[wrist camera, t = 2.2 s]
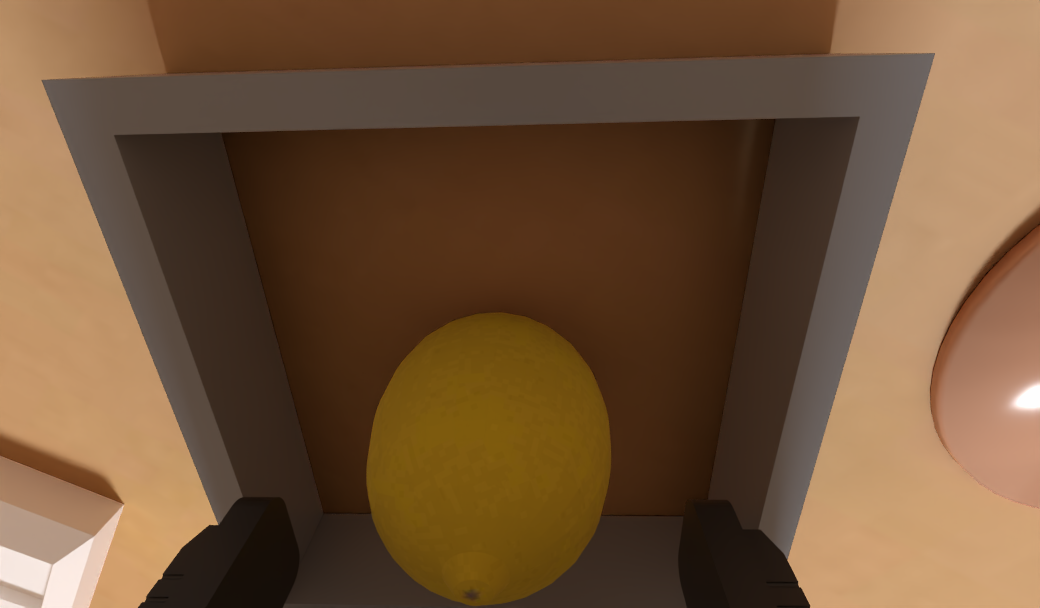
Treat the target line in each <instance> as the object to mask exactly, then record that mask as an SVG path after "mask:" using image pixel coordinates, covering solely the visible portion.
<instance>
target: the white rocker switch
mask: <svg viewBox="0 0 1040 608" xmlns="http://www.w3.org/2000/svg"><path fill="white" fill-rule="evenodd" d="M123 506H124V504H122V503H120V502H117V501H115V500H112V499H110V498H107V497H104V496H102V495H99V494H97V493H94V492H92V491H89V490H87V489H84V488H82V487H79V486H76V485H74V484H71V483H69V482H66V481H64V480H61V479H59V478H56V477H53V476H51V475H48V474H46V473H43V472H41V471H38V470H36V469H33V468H31V467H28V466H25V465H23V464H20V463H18V462H15V461H13V460H10V459H8V458H5V457H3V456H0V608H89V605H90V603H91V600H92V597H93V594H94V591H95V588H96V585H97V582H98V579H99V576H100V573H101V570H102V568H103V565H104V562H105V559H106V556H107V553H108V550H109V547H110V544H111V541H112V538H113V536H114V533H115V530H116V527H117V524H118V521H119V518H120V515H121V512H122V509H123Z"/></svg>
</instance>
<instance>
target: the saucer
mask: <svg viewBox="0 0 1040 608" xmlns="http://www.w3.org/2000/svg"><path fill="white" fill-rule="evenodd" d="M930 393H931V412H932V417H933V421H934V425H935V429H936V431H937V433H938V436H939V438H940V440H941V442H942V444H943V446H944V447H945V448H946V450H947V451H948V453H949V454H950V455H951V457H952V458H953V459H954V460H955V461H956V462H957V463H958V464H959V465H960V466H961V467H962V468H963V469H964V470H965V471H966V472H967V473H968V474H969V475H971V476H972V477H973V478H974V479H975V480H976V481H977V482H978V483H979V484H981V485H982V486H984V487H985V488H987V489H989V490H990V491H992V492H993V493H995V494H997V495H999V496H1002V497H1004V498H1006V499H1008V500H1011V501H1013V502H1016V503H1020V504H1023V505H1027V506H1030V507H1034V508H1040V225H1039V226H1037V227H1036V228H1035V229H1033V230H1032V231H1031V232H1030V233H1029V234H1028V235H1027V236H1026V237H1024V238H1023V239H1022V240H1021V241H1020V242H1019V243H1018V244H1016V245H1015V246H1014V247H1013V248H1012V249H1011V250H1010V251H1009V252H1007V253H1006V255H1005V256H1004V257H1003V258H1002V259H1001V260H1000V261H999V262H998V263H997V264H996V265H995V266H994V267H993V268H992V269H991V270H990V271H989V272H988V274H987V275H986V276H985V277H984V278H983V279H982V281H981V282H980V283H979V284H978V286H977V287H976V288H975V290H974V291H973V292H972V293H971V295H970V296H969V297H968V299H967V300H966V301H965V303H964V304H963V306H962V308H961V309H960V311H959V313H958V314H957V316H956V317H955V319H954V321H953V322H952V324H951V326H950V328H949V330H948V332H947V334H946V337H945V339H944V341H943V343H942V345H941V348H940V350H939V354H938V357H937V360H936V364H935V367H934V370H933V377H932V384H931V391H930Z"/></svg>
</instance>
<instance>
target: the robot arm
mask: <svg viewBox="0 0 1040 608" xmlns="http://www.w3.org/2000/svg"><path fill="white" fill-rule="evenodd" d="M299 560H300V554H299V548H298V544H297V541H296V537H295V534H294V531H293V527H292V524H291V521H290V517H289V514H288V511H287V507H286V504H285V502H284V500H283V499H282V498H280V497H242V498H239V499H238V500H237V501H236V502H235V503H234V504H233V505H232V507H231V508H230V509H229V511H228V512H227V514H226V515H225V517H224V518H223V520H222V521H221V522H220V524H219V525H209V526H208V527H206V528H205V529H204V530H203V531H202V532H200V533H199V534H198V535H197V536H196V537H194V538H193V539H192V540H191V541H190V542H188V543H187V544H186V545H185V546H184V547H183V548H182V549H181V550H180V551H179V553H178V554H177V556H176V557H175V558H174V560H173V561H172V562H171V564H170V565H169V566H168V568H167V569H166V570H165V572H164V573H163V577H162V579H161V580H158V581H157V583H156V584H155V585H154V587H153V588H152V589H151V591H150V592H149V594H148V595H147V596H146V601H145V602H142V603H141V604H140V606H139V607H138V608H283V606H284V604H285V602H286V600H287V598H288V595H289V593H290V591H291V589H292V587H293V585H294V582H295V580H296V577H297V573H298V568H299ZM678 568H679V577H680V583H681V588H682V591H683V595H684V599H685V602H686V606H687V608H810V604H809V602H808V600H807V598H806V596H805V594H804V593H803V591H802V589H801V588H799V586H798V581H797V579H796V577H795V575H794V573H793V571H792V569H791V567H790V565H789V563H788V561H787V559H786V557H785V555H784V553H783V552H782V551H781V550H780V549H779V548H778V547H777V546H776V545H775V544H774V543H773V542H772V541H771V540H770V539H769V538H768V537H767V536H766V535H765V534H764V533H763V532H762V531H761V530H760V529H742V527H741V524H740V522H739V520H738V517H737V515H736V513H735V511H734V508H733V506H732V505H731V503H730V502H729V501H728V500H687V502H686V504H685V510H684V517H683V524H682V531H681V538H680V545H679V552H678Z"/></svg>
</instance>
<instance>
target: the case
mask: <svg viewBox="0 0 1040 608" xmlns="http://www.w3.org/2000/svg"><path fill="white" fill-rule="evenodd" d="M934 55H935V53H886V54H804V55H771V56H738V57H705V58H671V59H638V60H605V61H572V62H539V63H505V64H472V65H439V66H406V67H372V68H339V69H306V70H273V71H239V72H206V73H173V74H150V75H130V76H111V77H91V78H71V79H52V80H42V82H43V85H44V87H45V90H46V92H47V95H48V97H49V100H50V102H51V105H52V107H53V110H54V112H55V115H56V118H57V120H58V123H59V125H60V128H61V130H62V133H63V135H64V138H65V140H66V143H67V145H68V148H69V150H70V153H71V155H72V158H73V160H74V163H75V165H76V168H77V170H78V173H79V175H80V178H81V180H82V183H83V185H84V188H85V190H86V193H87V195H88V198H89V200H90V203H91V205H92V208H93V211H94V213H95V216H96V218H97V221H98V223H99V226H100V228H101V231H102V233H103V236H104V238H105V241H106V243H107V246H108V248H109V251H110V253H111V256H112V258H113V261H114V263H115V266H116V268H117V271H118V273H119V276H120V278H121V281H122V283H123V286H124V288H125V291H126V293H127V296H128V298H129V301H130V304H131V306H132V309H133V311H134V314H135V316H136V319H137V321H138V324H139V326H140V329H141V331H142V334H143V336H144V339H145V341H146V344H147V346H148V349H149V351H150V354H151V356H152V359H153V361H154V364H155V366H156V369H157V371H158V374H159V376H160V379H161V381H162V384H163V386H164V389H165V391H166V394H167V397H168V399H169V402H170V404H171V407H172V409H173V412H174V414H175V417H176V419H177V422H178V424H179V427H180V429H181V432H182V434H183V437H184V439H185V442H186V444H187V447H188V449H189V452H190V454H191V457H192V459H193V462H194V464H195V467H196V469H197V472H198V474H199V477H200V479H201V482H202V485H203V487H204V490H205V492H206V495H207V497H208V500H209V502H210V505H211V507H212V510H213V512H214V515H215V517H216V520H217V522H218V525H219V524H220V522H221V521H222V520H223V518H224V517H225V515H226V514H227V512H228V511H229V509H230V508H231V507H232V505H233V504H234V503H235V502H236V501H237V500H238V499H239V498H242V497H280V498H282V499H283V500H284V502H285V504H286V507H287V511H288V514H289V517H290V521H291V524H292V527H293V531H294V534H295V537H296V541H297V544H298V548H299V554H300V560H299V568H298V573H297V577H296V580H295V582H294V585H293V587H292V589H291V591H290V593H289V595H288V598H287V600H286V602H285V604H284V606H283V608H687V606H686V602H685V599H684V595H683V591H682V588H681V583H680V577H679V568H678V552H679V545H680V538H681V531H682V524H683V517H684V516H601V517H600V521H599V523H598V526H597V528H596V531H595V533H594V535H593V537H592V538H591V540H590V541H589V543H588V544H587V546H586V547H585V549H584V550H583V552H582V553H581V555H580V556H579V558H578V559H577V561H576V562H575V563H574V564H573V565H572V566H571V567H570V568H569V569H568V570H567V571H566V572H564V573H563V574H562V575H561V576H560V577H559V578H557V579H556V580H555V581H554V582H553V583H552V584H550V585H548V586H546V587H545V588H543V589H541V590H539V591H537V592H535V593H533V594H531V595H529V596H527V597H525V598H522V599H518V600H515V601H511V602H507V603H502V604H493V605H481V606H470V605H466V604H464V603H461V602H457V601H453V600H450V599H448V598H445V597H443V596H440V595H438V594H436V593H434V592H431V591H429V590H428V589H426V588H425V587H423V586H422V585H420V584H419V583H417V582H416V581H415V580H413V579H412V578H411V577H410V576H409V575H408V574H407V573H406V572H405V571H404V570H403V569H402V568H401V567H400V566H399V565H398V564H397V563H396V561H395V560H394V559H393V558H392V556H391V555H390V553H389V552H388V551H387V549H386V547H385V545H384V543H383V541H382V540H381V538H380V536H379V534H378V532H377V530H376V527H375V524H374V522H373V519H372V514H324V513H323V509H322V506H321V502H320V498H319V495H318V491H317V487H316V483H315V480H314V476H313V472H312V469H311V465H310V461H309V457H308V454H307V450H306V446H305V443H304V439H303V435H302V431H301V428H300V424H299V420H298V417H297V413H296V409H295V405H294V402H293V398H292V394H291V391H290V387H289V383H288V379H287V376H286V372H285V368H284V365H283V361H282V357H281V353H280V350H279V346H278V342H277V339H276V335H275V331H274V327H273V324H272V320H271V316H270V313H269V309H268V305H267V301H266V298H265V294H264V290H263V287H262V283H261V279H260V275H259V272H258V268H257V264H256V261H255V257H254V253H253V249H252V246H251V242H250V238H249V234H248V231H247V227H246V223H245V220H244V216H243V212H242V208H241V205H240V201H239V197H238V194H237V190H236V186H235V182H234V179H233V175H232V171H231V168H230V164H229V160H228V156H227V153H226V149H225V145H224V142H223V138H222V134H221V132H256V131H296V130H336V129H377V128H417V127H457V126H497V125H537V124H577V123H618V122H658V121H698V120H738V119H776V120H775V126H774V132H773V137H772V143H771V148H770V154H769V159H768V165H767V171H766V176H765V182H764V187H763V193H762V199H761V204H760V210H759V215H758V221H757V226H756V232H755V238H754V243H753V249H752V254H751V260H750V266H749V271H748V277H747V282H746V288H745V293H744V299H743V305H742V310H741V316H740V321H739V327H738V332H737V338H736V344H735V349H734V355H733V360H732V366H731V372H730V377H729V383H728V388H727V394H726V399H725V405H724V411H723V416H722V422H721V427H720V433H719V439H718V444H717V450H716V455H715V461H714V466H713V472H712V478H711V483H710V489H709V494H708V500H728V501H729V502H730V503H731V505H732V506H733V508H734V511H735V513H736V515H737V517H738V520H739V522H740V524H741V527H742V529H760V530H761V531H762V532H763V533H764V534H765V535H766V536H767V537H768V538H769V539H770V540H771V541H772V542H773V543H774V544H775V545H776V546H777V547H778V548H779V549H780V550H781V551H782V552H783V553H784V555H785V557H786V559H788V556H789V552H790V549H791V545H792V542H793V539H794V535H795V532H796V528H797V525H798V521H799V518H800V515H801V511H802V508H803V504H804V501H805V497H806V494H807V491H808V487H809V484H810V480H811V477H812V473H813V470H814V467H815V463H816V460H817V456H818V453H819V449H820V446H821V443H822V439H823V436H824V432H825V429H826V425H827V422H828V419H829V415H830V412H831V408H832V405H833V401H834V398H835V395H836V391H837V388H838V384H839V381H840V377H841V374H842V371H843V367H844V364H845V360H846V357H847V353H848V350H849V347H850V343H851V340H852V336H853V333H854V329H855V326H856V323H857V319H858V316H859V312H860V309H861V305H862V302H863V299H864V295H865V292H866V288H867V285H868V281H869V278H870V275H871V271H872V268H873V264H874V261H875V257H876V254H877V251H878V247H879V244H880V240H881V237H882V233H883V230H884V227H885V223H886V220H887V216H888V213H889V209H890V206H891V203H892V199H893V196H894V192H895V189H896V185H897V182H898V179H899V175H900V172H901V168H902V165H903V161H904V158H905V155H906V151H907V148H908V144H909V141H910V137H911V134H912V131H913V127H914V124H915V120H916V117H917V113H918V110H919V107H920V103H921V100H922V96H923V93H924V89H925V86H926V83H927V79H928V76H929V72H930V69H931V65H932V62H933V59H934Z"/></svg>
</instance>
